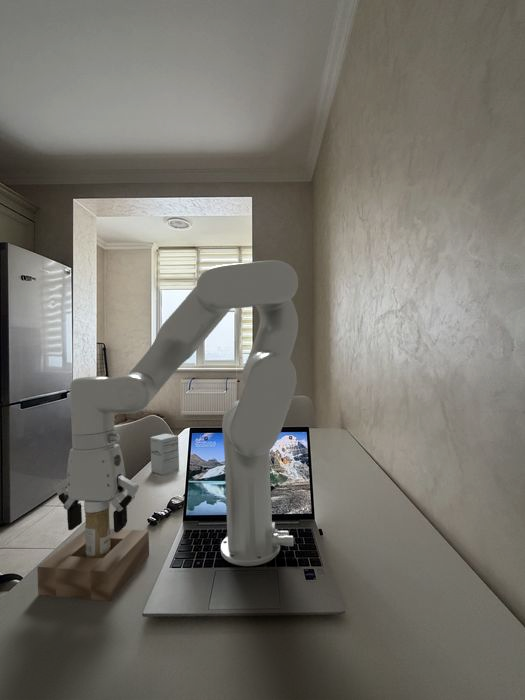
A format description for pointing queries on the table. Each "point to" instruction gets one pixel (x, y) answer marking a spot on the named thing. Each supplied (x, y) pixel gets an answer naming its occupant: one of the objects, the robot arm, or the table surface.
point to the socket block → (93, 567)
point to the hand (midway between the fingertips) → (97, 527)
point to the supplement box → (164, 454)
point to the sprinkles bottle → (97, 528)
